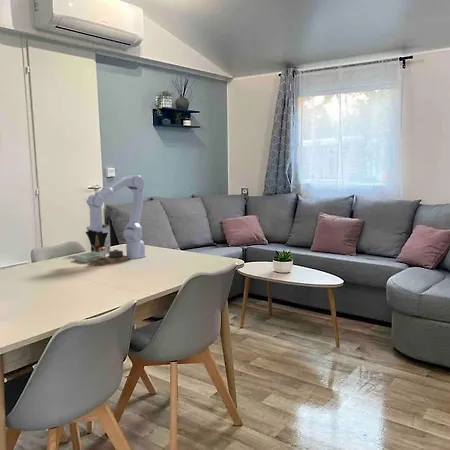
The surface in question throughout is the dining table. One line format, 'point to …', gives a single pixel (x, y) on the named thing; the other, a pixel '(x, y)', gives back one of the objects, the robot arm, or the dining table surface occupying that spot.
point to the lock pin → (102, 253)
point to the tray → (86, 256)
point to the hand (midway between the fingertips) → (97, 245)
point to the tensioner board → (110, 258)
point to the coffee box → (107, 242)
